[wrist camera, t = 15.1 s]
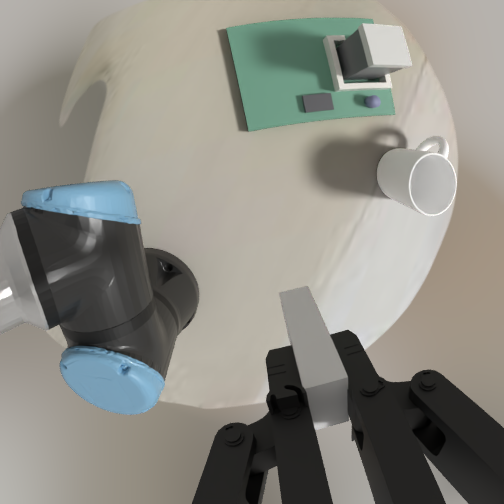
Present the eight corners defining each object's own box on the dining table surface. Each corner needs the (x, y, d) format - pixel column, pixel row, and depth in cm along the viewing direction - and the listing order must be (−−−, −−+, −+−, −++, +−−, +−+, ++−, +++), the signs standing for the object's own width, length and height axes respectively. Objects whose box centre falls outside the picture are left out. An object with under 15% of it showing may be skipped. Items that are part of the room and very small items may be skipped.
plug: (342, 81, 35) (373, 64, 25) (333, 45, 33) (360, 18, 22) (374, 80, 35) (412, 66, 24) (366, 45, 33) (400, 22, 22)
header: (335, 91, 35) (339, 89, 33) (322, 40, 32) (326, 35, 30) (385, 89, 35) (392, 87, 33) (373, 40, 32) (379, 36, 30)
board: (248, 131, 39) (248, 130, 36) (226, 30, 33) (225, 23, 30) (391, 114, 38) (401, 113, 35) (369, 21, 32) (377, 15, 29)
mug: (404, 119, 38) (442, 117, 28) (436, 153, 40) (476, 160, 30) (365, 178, 41) (397, 190, 32) (400, 209, 43) (435, 228, 33)
